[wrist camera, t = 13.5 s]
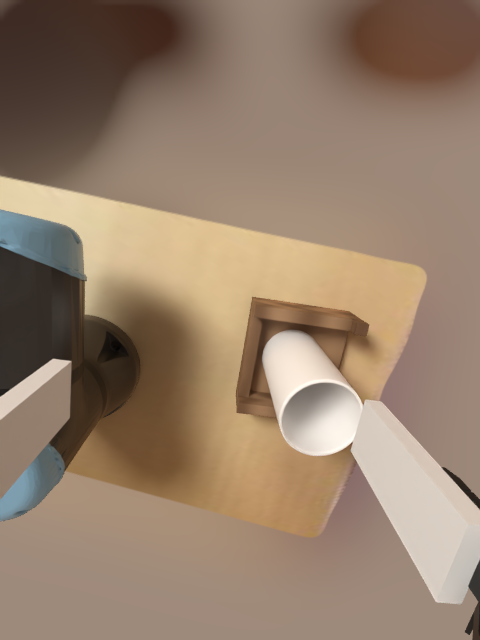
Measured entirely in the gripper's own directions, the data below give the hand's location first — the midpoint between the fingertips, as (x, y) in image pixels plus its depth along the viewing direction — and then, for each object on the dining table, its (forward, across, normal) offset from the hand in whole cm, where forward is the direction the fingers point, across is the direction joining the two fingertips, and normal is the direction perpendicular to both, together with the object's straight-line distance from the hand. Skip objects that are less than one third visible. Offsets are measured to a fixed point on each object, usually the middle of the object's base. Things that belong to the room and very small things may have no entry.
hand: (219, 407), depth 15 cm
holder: (+32, +11, -8) cm, 34 cm away
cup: (+30, +11, -8) cm, 33 cm away
